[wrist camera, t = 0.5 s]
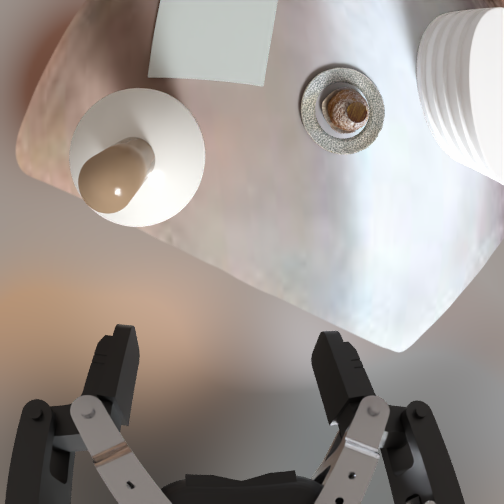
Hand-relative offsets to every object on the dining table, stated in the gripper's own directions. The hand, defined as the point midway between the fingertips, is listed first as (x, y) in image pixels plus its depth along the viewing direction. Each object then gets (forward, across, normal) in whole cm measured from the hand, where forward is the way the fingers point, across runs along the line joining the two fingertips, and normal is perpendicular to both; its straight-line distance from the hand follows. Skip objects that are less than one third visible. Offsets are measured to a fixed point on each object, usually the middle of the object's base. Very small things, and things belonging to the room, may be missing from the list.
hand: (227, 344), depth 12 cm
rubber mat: (+29, +3, -18) cm, 34 cm away
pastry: (+30, -15, -9) cm, 35 cm away
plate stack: (+30, -39, -21) cm, 54 cm away
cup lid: (+14, +7, -4) cm, 16 cm away
